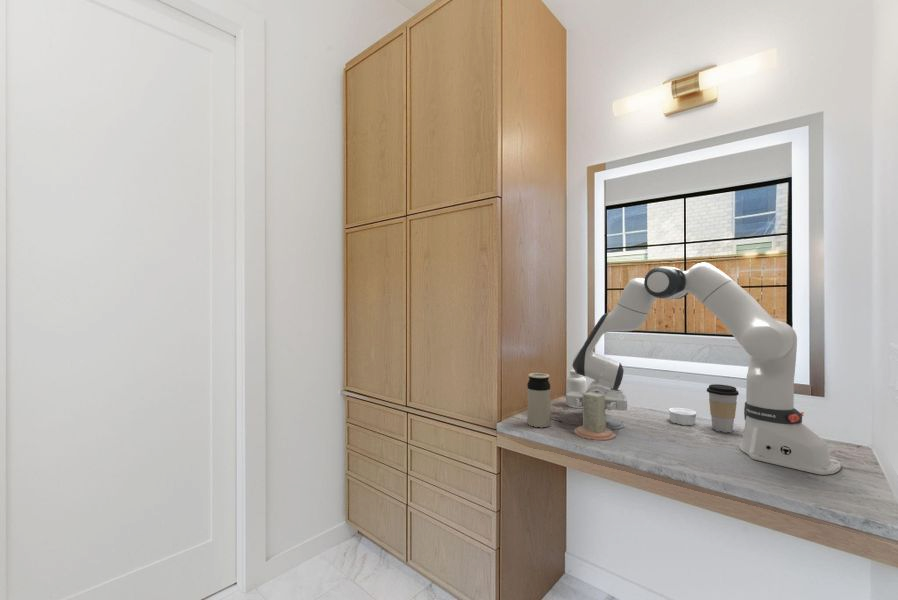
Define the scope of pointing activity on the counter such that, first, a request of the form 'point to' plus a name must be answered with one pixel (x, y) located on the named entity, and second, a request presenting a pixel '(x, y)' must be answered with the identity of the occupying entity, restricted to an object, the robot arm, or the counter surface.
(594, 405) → the skincare box
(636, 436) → the counter surface
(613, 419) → the slate dish
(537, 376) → the travel mug
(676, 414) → the ramekin
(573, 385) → the pill bottle
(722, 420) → the coffee cup
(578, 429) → the terracotta dish
